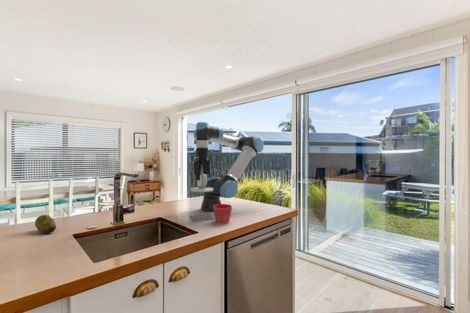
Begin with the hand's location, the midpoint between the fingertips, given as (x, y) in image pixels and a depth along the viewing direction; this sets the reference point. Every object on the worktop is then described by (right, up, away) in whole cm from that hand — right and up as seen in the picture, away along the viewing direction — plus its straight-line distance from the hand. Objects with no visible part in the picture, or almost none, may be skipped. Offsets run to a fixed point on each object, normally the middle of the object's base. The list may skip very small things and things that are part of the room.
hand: (202, 185), depth 155 cm
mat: (0, -21, 0) cm, 21 cm away
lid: (0, -3, 0) cm, 3 cm away
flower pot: (+13, -21, -8) cm, 26 cm away
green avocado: (-76, -21, -27) cm, 84 cm away
